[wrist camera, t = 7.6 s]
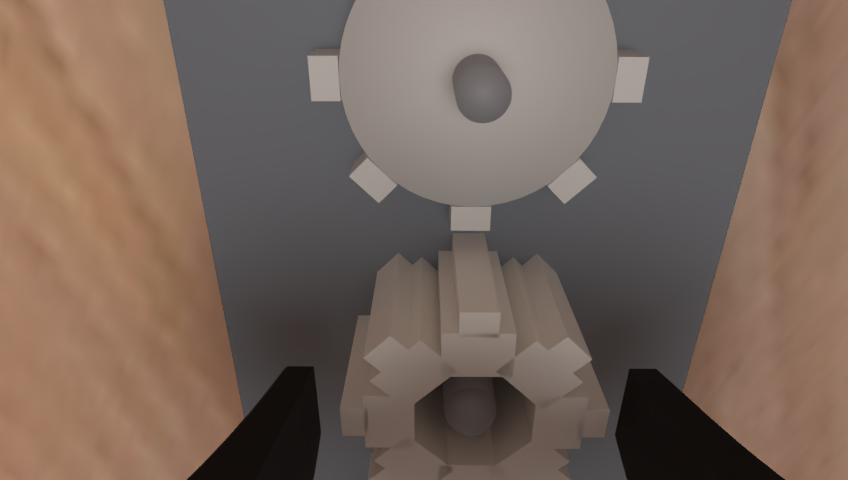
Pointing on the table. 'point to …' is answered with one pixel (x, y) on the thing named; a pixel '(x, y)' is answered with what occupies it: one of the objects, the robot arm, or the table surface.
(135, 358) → the table surface
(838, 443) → the table surface
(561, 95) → the gear board
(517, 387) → the idler gear
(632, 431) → the robot arm
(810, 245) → the table surface
